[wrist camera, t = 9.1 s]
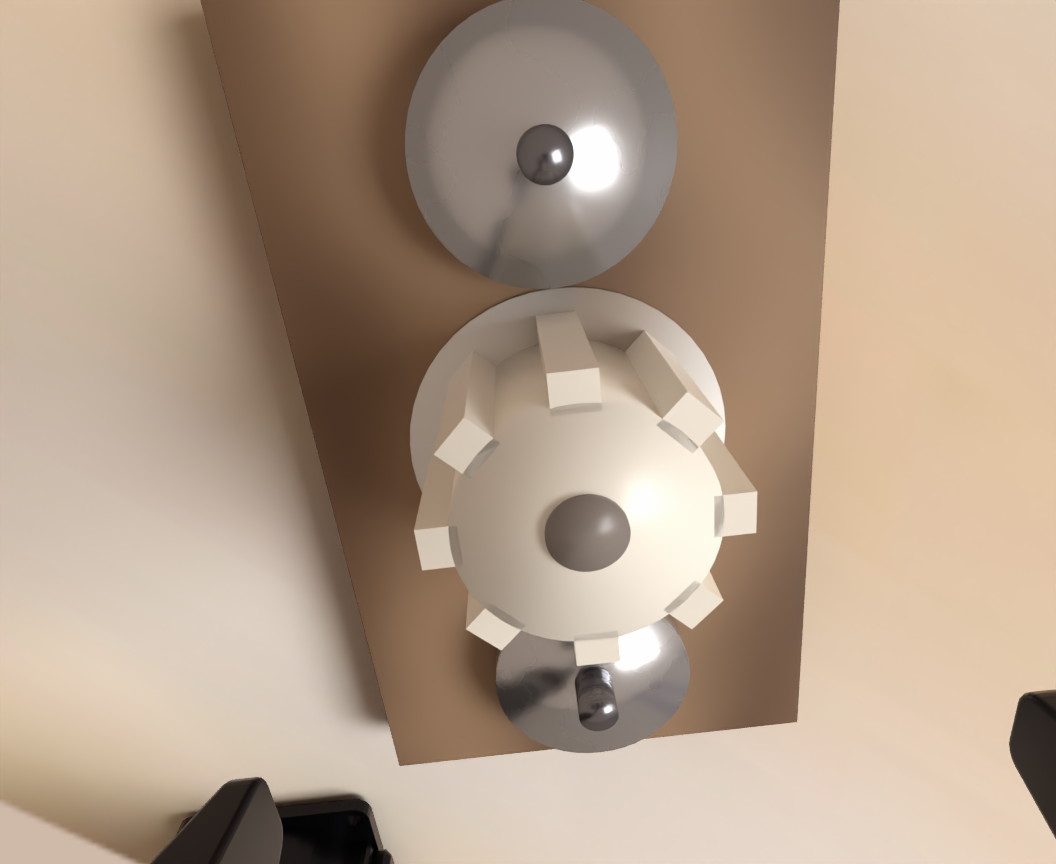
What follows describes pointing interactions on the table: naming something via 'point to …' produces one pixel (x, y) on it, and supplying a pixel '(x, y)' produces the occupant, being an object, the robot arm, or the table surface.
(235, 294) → the table surface
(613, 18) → the gear peg base
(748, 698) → the gear board
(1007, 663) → the table surface
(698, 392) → the loose gear
